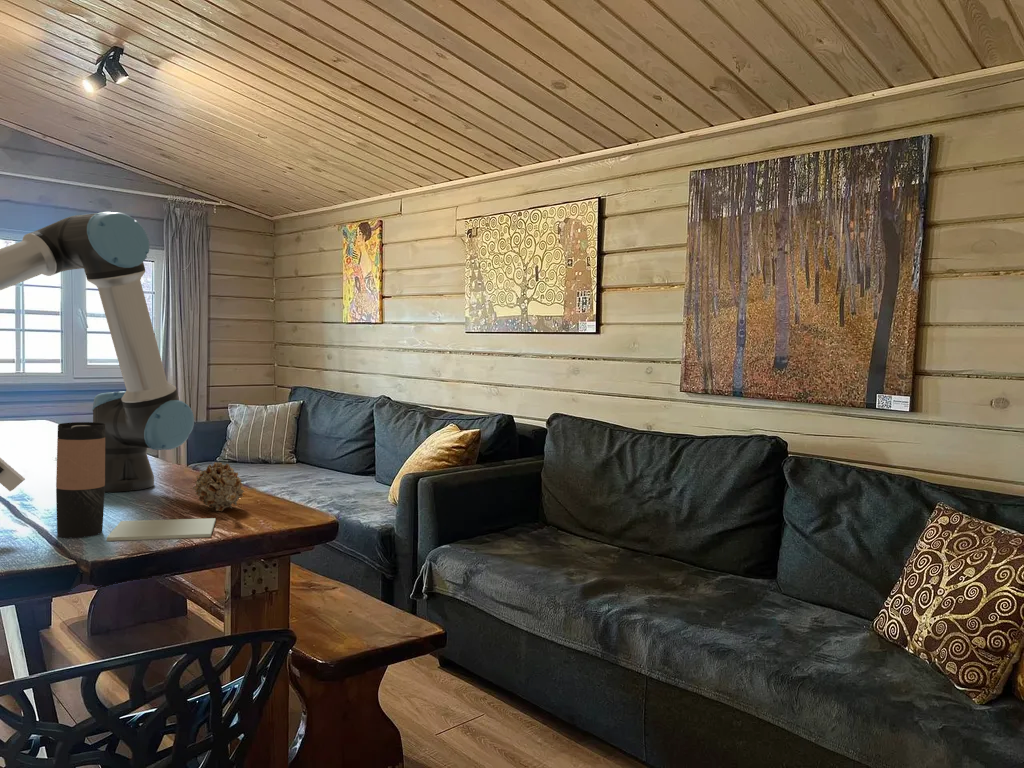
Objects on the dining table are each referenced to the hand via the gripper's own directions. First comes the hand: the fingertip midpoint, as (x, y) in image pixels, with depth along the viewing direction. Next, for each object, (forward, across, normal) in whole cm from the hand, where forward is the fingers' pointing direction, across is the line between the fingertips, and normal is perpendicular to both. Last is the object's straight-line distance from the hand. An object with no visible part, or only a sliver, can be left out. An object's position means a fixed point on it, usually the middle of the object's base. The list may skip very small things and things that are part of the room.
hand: (17, 485), depth 130 cm
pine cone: (+30, -15, +17) cm, 38 cm away
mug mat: (+23, 0, +10) cm, 26 cm away
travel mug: (+14, 0, 0) cm, 14 cm away
